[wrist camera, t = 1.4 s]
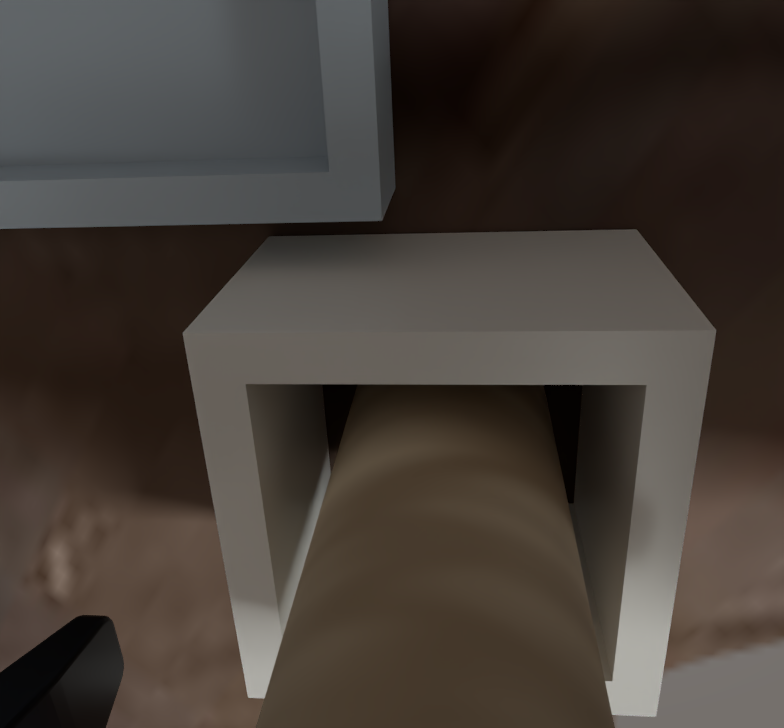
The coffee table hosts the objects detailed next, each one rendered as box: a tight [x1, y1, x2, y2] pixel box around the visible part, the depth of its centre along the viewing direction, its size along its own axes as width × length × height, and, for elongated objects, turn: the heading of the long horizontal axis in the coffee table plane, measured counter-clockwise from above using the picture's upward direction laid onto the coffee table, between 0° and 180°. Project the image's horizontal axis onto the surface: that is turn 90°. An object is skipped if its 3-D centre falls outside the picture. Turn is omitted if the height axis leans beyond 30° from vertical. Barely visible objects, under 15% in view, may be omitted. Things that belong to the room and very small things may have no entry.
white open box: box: [182, 229, 716, 717], centre depth 14 cm, size 7×7×5 cm
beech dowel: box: [256, 384, 615, 728], centre depth 11 cm, size 4×4×11 cm
